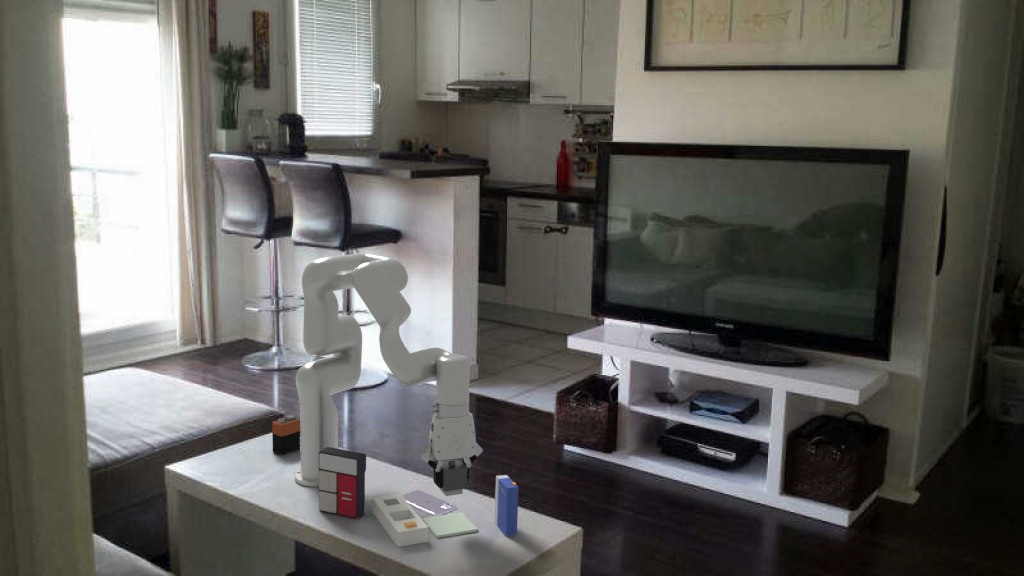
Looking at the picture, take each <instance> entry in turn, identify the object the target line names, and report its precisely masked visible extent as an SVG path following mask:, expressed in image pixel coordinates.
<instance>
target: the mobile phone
mask: <svg viewBox="0 0 1024 576" xmlns="http://www.w3.org/2000/svg"><path fill="white" fill-rule="evenodd" d="M401 495H402V496H403V497H404V499H405V500H406V501H407V502H408V503H409V505H410V506H411V507H412V508H416V509H418V510H420V511H422V512H424V513H426V514H429V515H430V514H431V515H430V516H432V517H433V516H440V515H446V514H449V513H451V512H453V511H456V510H457V509H458V507H457V505H456V504H453V503H450V502H449V501H446V500H443V499H441V498H439V497H436V496H434V495H432V494H430V493H427V492H425V491H422V490H420V489H416V490H412V491H410V492H406V493H404V494H401Z"/></svg>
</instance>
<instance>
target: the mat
mask: <svg viewBox="0 0 1024 576" xmlns="http://www.w3.org/2000/svg"><path fill="white" fill-rule="evenodd" d="M421 519H422V520H423V521H424V523H425V524H426V525H427V526H428V530H429V531H430V532H431V533H432V534H433V535H434V537H435V538H436V539H440V538H446V537H452V536H458V535H459V536H460V535H464V534H470V533H476V532H477V533H478V532H479V531H478V530H479V529H478V527H477V526H476V525H475V524H474V523H473V522H472V521H471V520H470V519H469V518H468V517H467V516H466V514H464V512H462V511H460V512H453V513H446V514H443V515H440V516H433V515H432V516H428V517H422V518H421Z"/></svg>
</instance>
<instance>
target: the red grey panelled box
mask: <svg viewBox="0 0 1024 576" xmlns="http://www.w3.org/2000/svg"><path fill="white" fill-rule="evenodd" d="M366 470H367V454H366V453H363V452H359V451H351V450H347V449H342V448H338V449H337V448H331V447H327V448H325V449H323V450H321V451H319V487H318V510H319V511H320V512H324V513H330V514H334V515H339V516H344V517H349V518H353V519H359V518H361V517H362V516H363V515H364V514H365V512H366V511H365V509H366V507H365V506H366V504H365V503H366V502H365V501H366V500H365V498H366V485H365V484H366V483H365V482H366V479H365V478H366Z"/></svg>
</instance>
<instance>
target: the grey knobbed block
mask: <svg viewBox="0 0 1024 576" xmlns="http://www.w3.org/2000/svg"><path fill="white" fill-rule="evenodd" d="M441 471H442V473H443V481H442V488H439V490H440V492H441V493H442V494H443V495H444V496H445V497H450V496H458V495H463V490H464V489H468V484H467V467H466V466H465V465H464V464H463V463H462V460H460V459H454V460H447V461H443V464H442V467H441Z"/></svg>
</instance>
